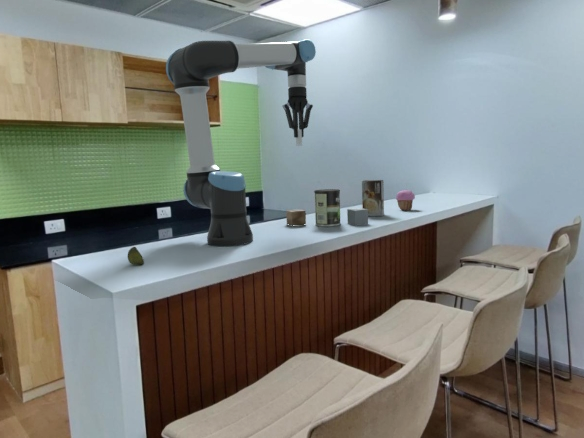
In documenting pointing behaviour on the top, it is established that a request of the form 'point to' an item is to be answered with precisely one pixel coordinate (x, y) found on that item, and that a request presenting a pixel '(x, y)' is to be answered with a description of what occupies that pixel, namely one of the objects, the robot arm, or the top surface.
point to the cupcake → (405, 199)
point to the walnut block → (296, 217)
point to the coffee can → (327, 207)
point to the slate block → (357, 216)
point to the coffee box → (373, 197)
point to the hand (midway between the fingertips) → (299, 145)
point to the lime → (135, 256)
